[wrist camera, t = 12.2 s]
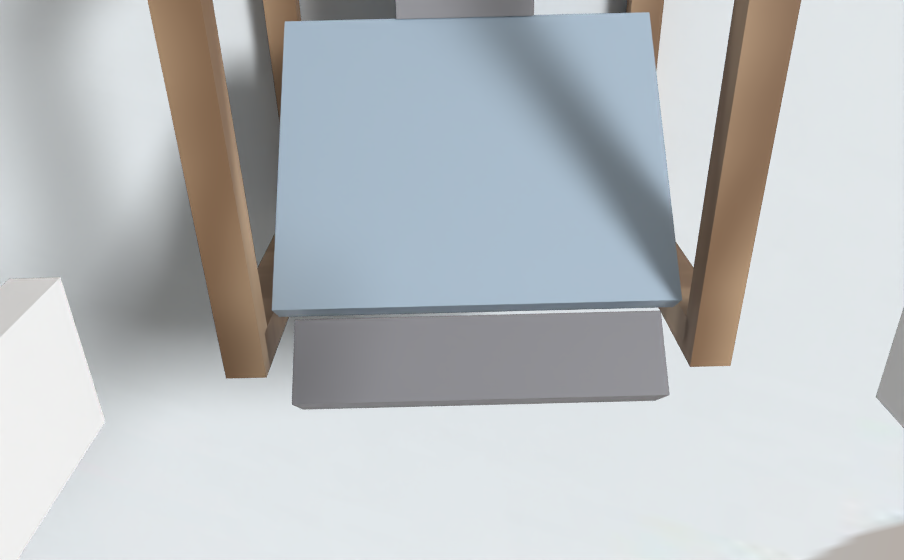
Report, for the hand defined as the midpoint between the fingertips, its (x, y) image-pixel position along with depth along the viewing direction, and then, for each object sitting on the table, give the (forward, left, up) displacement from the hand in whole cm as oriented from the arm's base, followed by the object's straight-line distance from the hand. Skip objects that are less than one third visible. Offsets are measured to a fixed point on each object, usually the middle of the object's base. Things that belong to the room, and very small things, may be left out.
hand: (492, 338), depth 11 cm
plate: (0, -6, -19) cm, 20 cm away
